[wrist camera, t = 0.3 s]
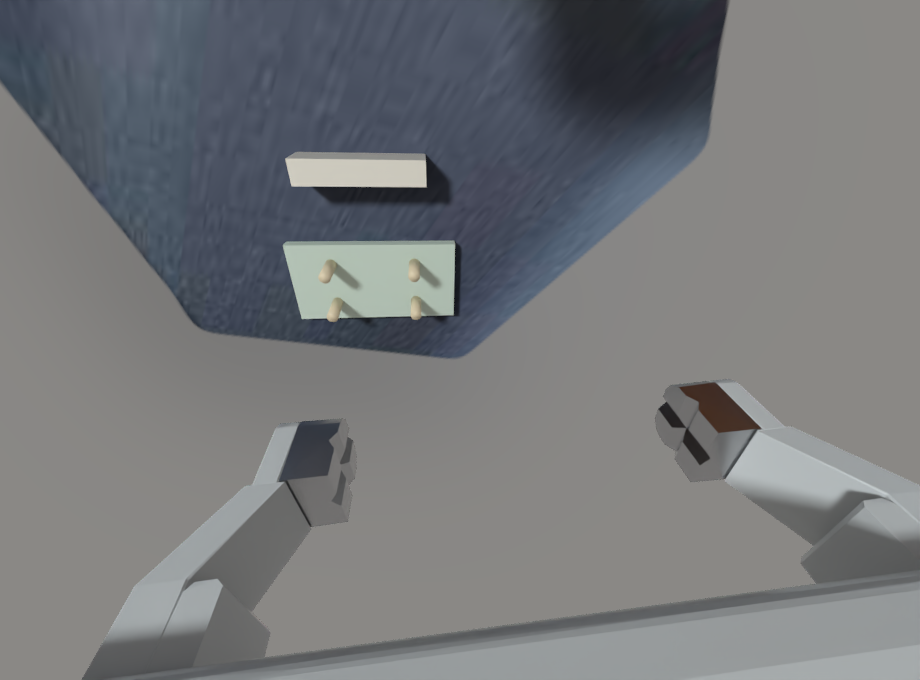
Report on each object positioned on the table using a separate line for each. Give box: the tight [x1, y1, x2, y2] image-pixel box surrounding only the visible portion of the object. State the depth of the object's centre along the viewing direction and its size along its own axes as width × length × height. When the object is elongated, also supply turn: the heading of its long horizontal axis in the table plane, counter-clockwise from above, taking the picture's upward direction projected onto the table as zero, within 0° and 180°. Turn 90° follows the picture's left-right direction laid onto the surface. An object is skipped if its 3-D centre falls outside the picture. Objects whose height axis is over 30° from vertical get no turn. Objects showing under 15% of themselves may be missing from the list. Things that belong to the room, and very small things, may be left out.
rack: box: [283, 241, 455, 322], centre depth 54 cm, size 24×12×6 cm, turn 88°
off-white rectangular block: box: [285, 152, 426, 187], centre depth 45 cm, size 16×3×5 cm, turn 88°
